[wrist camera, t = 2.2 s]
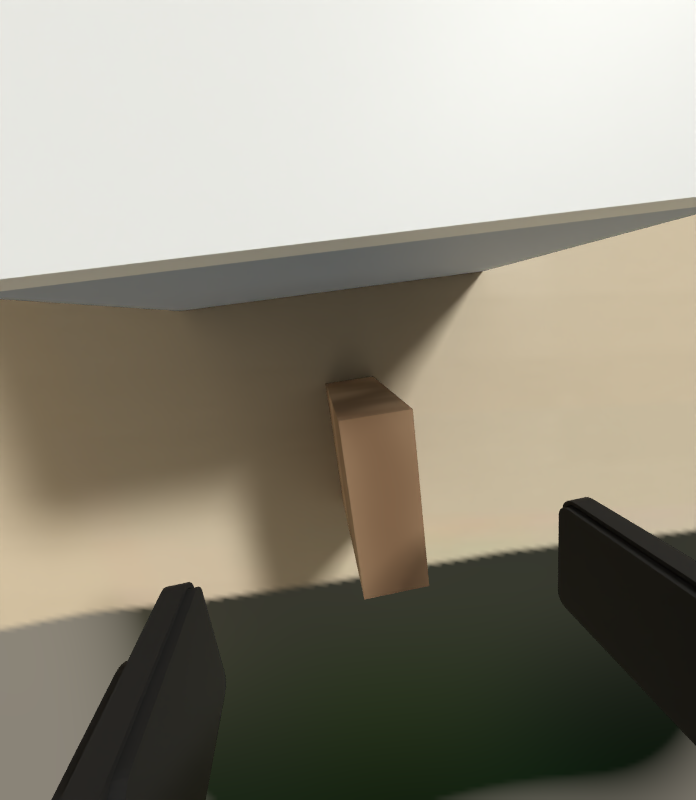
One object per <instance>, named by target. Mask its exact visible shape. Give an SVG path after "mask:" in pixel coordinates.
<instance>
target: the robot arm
mask: <svg viewBox="0 0 696 800" xmlns="http://www.w3.org/2000/svg"><path fill="white" fill-rule="evenodd" d="M558 594H559V597H560V600H561V602H562V603H563V605H564V606H565V608H566V609H567V610H568V611H569V612H570V613H571V614H572V615H573V616H574V617H575V618H576V619H577V620H578V621H579V623H580V624H581V625H582V626H583V627H584V628H585V629H586V630H587V631H588V632H589V633H590V634H591V635H592V636H593V637H594V638H595V639H596V641H598V643H599V644H600V645H601V646H602V647H603V648H604V649H605V650H606V651H607V652H608V653H609V654H610V655H611V656H612V657H613V659H614V660H615V661H617V663H618V664H619V665H620V666H621V667H622V668H623V669H624V670H625V671H626V672H627V673H628V674H629V675H630V676H631V678H632V679H633V680H634V681H635V682H636V683H637V684H638V685H639V686H640V687H641V688H642V689H643V690H644V691H645V692H646V693H647V694H648V696H650V698H652V700H653V701H654V702H655V703H656V704H657V705H658V706H659V707H660V708H661V709H662V710H663V711H664V712H665V713H666V715H667V716H668V717H669V718H670V719H671V720H672V721H673V722H674V723H675V724H676V725H677V726H678V727H679V728H680V729H681V730H682V732H683V733H684V734H685V735H686V736H687V737H688V738H689V739H690V740H691V741H692V742H693V743H694V744H695V745H696V561H695V560H694V559H692V558H690V557H689V556H687V555H685V554H684V553H682V552H680V551H679V550H677V549H675V548H674V547H672V546H670V545H668V544H667V543H665V542H664V541H662V540H660V539H659V538H657V537H655V536H654V535H652V534H650V533H649V532H647V531H645V530H644V529H642V528H640V527H639V526H637V525H635V524H634V523H632V522H630V521H629V520H627V519H625V518H624V517H622V516H620V515H619V514H617V513H615V512H614V511H612V510H610V509H608V508H607V507H605V506H603V505H602V504H600V503H598V502H597V501H595V500H593V499H591V498H589V497H584V498H580V499H575V500H570V501H567V502H565V503H564V505H563V508H562V509H560V511H559V551H558ZM225 690H226V678H225V672H224V668H223V665H222V661H221V657H220V654H219V650H218V646H217V643H216V639H215V636H214V632H213V628H212V625H211V621H210V617H209V614H208V610H207V606H206V603H205V599H204V596H203V592H202V589H201V588H200V587H195V588H194V586H193V584H192V583H191V582H187V583H183V584H178V585H173V586H169V587H165V588H164V589H163V590H162V592H161V594H160V596H159V598H158V600H157V602H156V604H155V606H154V608H153V610H152V612H151V614H150V616H149V618H148V621H147V622H146V624H145V627H144V629H143V631H142V633H141V635H140V637H139V639H138V641H137V643H136V645H135V647H134V649H133V651H132V653H131V655H130V657H129V660H128V661H126V662H124V663H123V664H122V665H121V666H120V667H119V669H118V670H117V672H116V673H115V675H114V677H113V679H112V681H111V683H110V685H109V687H108V689H107V691H106V693H105V695H104V697H103V699H102V701H101V703H100V705H99V707H98V709H97V711H96V713H95V715H94V717H93V719H92V721H91V723H90V725H89V727H88V729H87V730H86V733H85V735H84V737H83V739H82V740H81V742H80V744H79V746H78V748H77V750H76V752H75V754H74V756H73V758H72V760H71V762H70V764H69V766H68V768H67V770H66V772H65V774H64V776H63V778H62V780H61V782H60V784H59V786H58V788H57V790H56V792H55V794H54V796H53V798H52V800H206V794H207V789H208V784H209V778H210V773H211V767H212V762H213V756H214V751H215V746H216V740H217V734H218V729H219V724H220V718H221V712H222V708H223V702H224V697H225Z"/></svg>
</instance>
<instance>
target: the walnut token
mask: <svg viewBox="0 0 696 800" xmlns="http://www.w3.org/2000/svg"><path fill="white" fill-rule="evenodd" d="M326 390H327V396H328V403H329V410H330V416H331V423H332V429H333V436H334V443H335V449H336V456H337V462H338V469H339V476H340V482H341V489H342V495H343V502H344V507H345V512H346V517H347V521H348V526H349V530H350V535H351V540H352V544H353V549H354V553H355V558H356V563H357V567H358V572H359V576H360V581H361V586H362V590H363V595H364V599H369V598H373V597H378V596H383V595H387V594H392V593H397V592H402V591H407V590H411V589H416V588H421V587H426V586H429V579H428V569H427V558H426V547H425V536H424V526H423V515H422V504H421V494H420V483H419V472H418V461H417V451H416V440H415V429H414V419H413V409H412V408H411V407H409V406H408V405H407V404H406V403H405V402H403V401H402V400H401V399H400V398H399V397H397V396H396V395H395V394H394V393H392V392H391V391H390V390H389V389H388V388H386V387H385V386H384V385H383V384H382V383H380V382H379V381H378V380H377V379H375V378H374V377H373V376H372V377H366V378H359V379H353V380H346V381H340V382H333V383H327V384H326Z"/></svg>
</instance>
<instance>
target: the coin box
mask: <svg viewBox="0 0 696 800" xmlns="http://www.w3.org/2000/svg"><path fill="white" fill-rule="evenodd" d="M695 214H696V0H0V299H7V300H22V301H37V302H52V303H67V304H82V305H97V306H112V307H127V308H143V309H158V310H173V311H184V310H191V309H199V308H206V307H214V306H222V305H229V304H237V303H245V302H252V301H260V300H267V299H275V298H283V297H290V296H298V295H305V294H313V293H321V292H328V291H336V290H344V289H351V288H359V287H366V286H374V285H382V284H389V283H397V282H404V281H412V280H420V279H427V278H435V277H443V276H450V275H458V274H465V273H473V272H481V271H486V270H489V269H493V268H497V267H501V266H504V265H508V264H512V263H516V262H519V261H523V260H527V259H531V258H534V257H538V256H542V255H546V254H549V253H553V252H557V251H561V250H564V249H568V248H572V247H575V246H579V245H583V244H587V243H590V242H594V241H598V240H602V239H605V238H609V237H613V236H617V235H620V234H624V233H628V232H632V231H635V230H639V229H643V228H647V227H650V226H654V225H658V224H662V223H665V222H669V221H673V220H676V219H680V218H684V217H688V216H691V215H695Z"/></svg>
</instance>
